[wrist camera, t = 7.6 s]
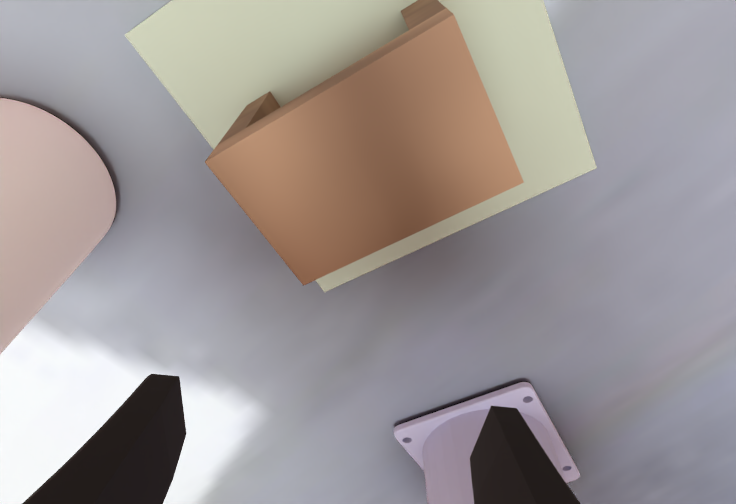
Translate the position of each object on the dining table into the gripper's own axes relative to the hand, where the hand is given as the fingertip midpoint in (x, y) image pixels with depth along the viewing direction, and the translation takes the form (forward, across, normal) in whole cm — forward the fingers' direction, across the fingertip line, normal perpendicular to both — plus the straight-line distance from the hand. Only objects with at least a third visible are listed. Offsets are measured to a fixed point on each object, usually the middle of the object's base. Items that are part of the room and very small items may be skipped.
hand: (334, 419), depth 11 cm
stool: (+9, 0, -4) cm, 10 cm away
